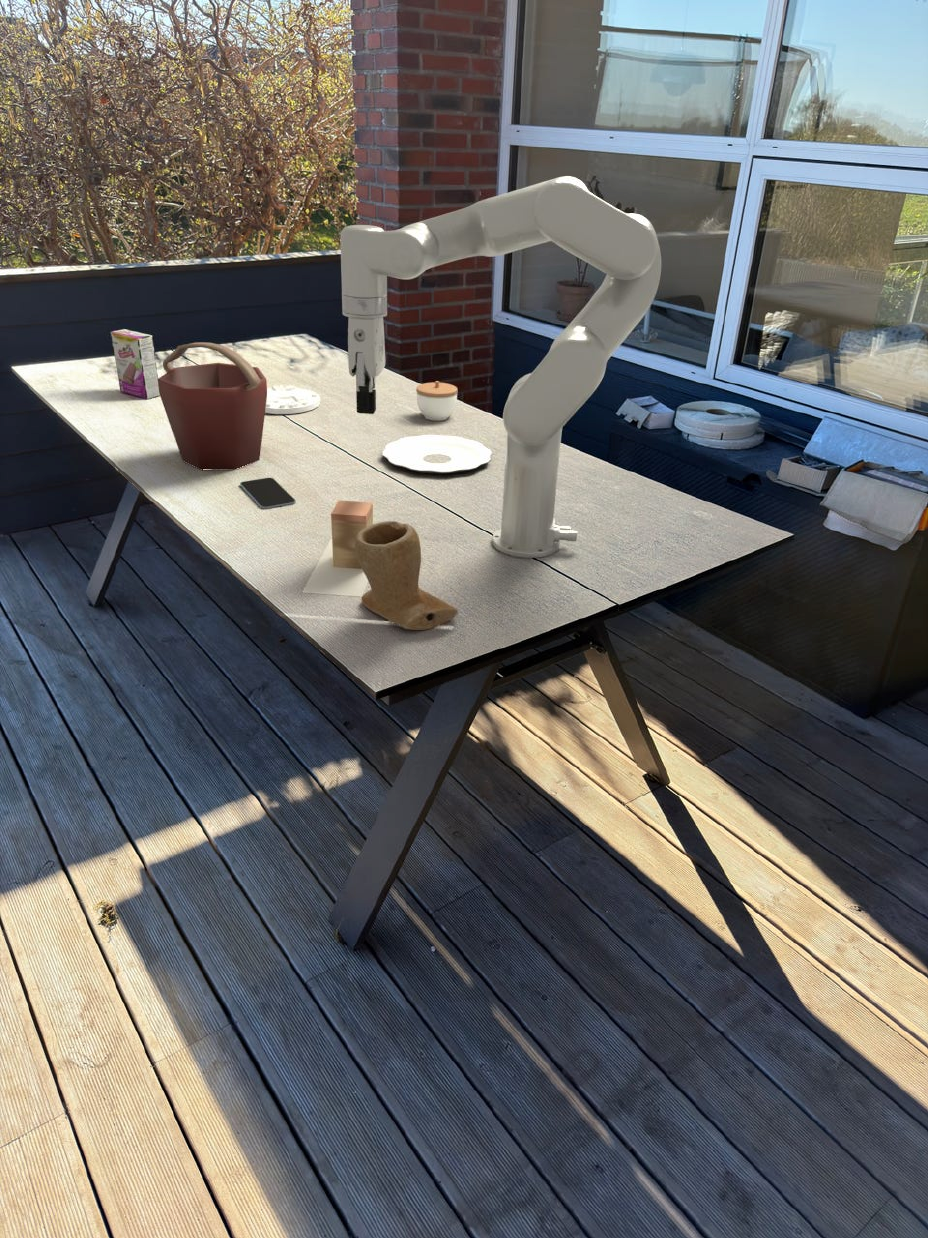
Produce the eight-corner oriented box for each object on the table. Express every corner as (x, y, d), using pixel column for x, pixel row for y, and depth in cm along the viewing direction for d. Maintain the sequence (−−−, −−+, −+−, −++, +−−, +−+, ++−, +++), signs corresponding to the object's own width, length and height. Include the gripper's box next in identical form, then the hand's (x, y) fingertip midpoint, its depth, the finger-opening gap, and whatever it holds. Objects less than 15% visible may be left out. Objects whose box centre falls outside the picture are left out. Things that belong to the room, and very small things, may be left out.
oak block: (373, 554, 160) (372, 502, 155) (367, 569, 154) (366, 516, 150) (340, 552, 160) (338, 500, 155) (333, 566, 155) (330, 513, 150)
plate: (427, 435, 222) (427, 428, 221) (511, 457, 209) (512, 450, 208) (360, 461, 204) (360, 453, 203) (448, 487, 191) (448, 479, 191)
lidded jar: (439, 425, 228) (440, 389, 223) (407, 417, 233) (407, 381, 229) (464, 416, 235) (466, 381, 231) (433, 408, 241) (434, 373, 236)
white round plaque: (313, 418, 231) (312, 407, 230) (237, 415, 231) (236, 404, 230) (325, 396, 249) (324, 386, 247) (254, 393, 249) (254, 383, 247)
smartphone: (261, 507, 177) (238, 482, 188) (262, 512, 177) (238, 486, 188) (297, 501, 180) (272, 476, 191) (297, 505, 181) (272, 480, 192)
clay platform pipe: (342, 608, 143) (338, 522, 136) (400, 587, 150) (400, 504, 143) (399, 647, 134) (399, 557, 126) (459, 622, 141) (462, 536, 133)
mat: (384, 543, 165) (384, 541, 165) (362, 599, 146) (361, 596, 146) (331, 539, 166) (331, 537, 165) (302, 595, 147) (301, 592, 146)
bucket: (151, 454, 203) (134, 341, 190) (233, 434, 217) (223, 328, 204) (212, 483, 188) (198, 364, 176) (296, 459, 203) (289, 347, 190)
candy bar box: (119, 392, 244) (109, 331, 236) (133, 389, 248) (124, 328, 239) (146, 400, 239) (137, 337, 231) (161, 396, 242) (153, 334, 234)
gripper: (378, 315, 143) (379, 426, 153) (393, 298, 156) (393, 401, 166) (333, 312, 144) (336, 423, 153) (351, 296, 157) (354, 399, 166)
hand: (366, 411), depth 159 cm, fingers closed
